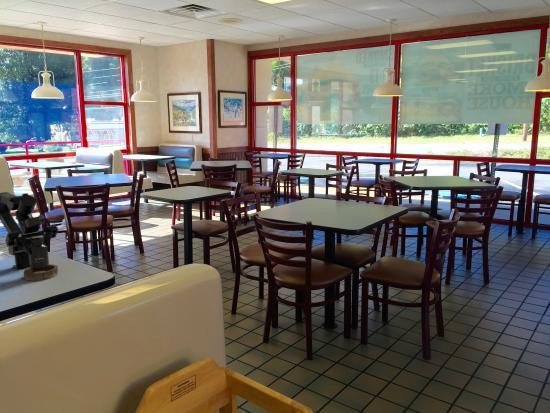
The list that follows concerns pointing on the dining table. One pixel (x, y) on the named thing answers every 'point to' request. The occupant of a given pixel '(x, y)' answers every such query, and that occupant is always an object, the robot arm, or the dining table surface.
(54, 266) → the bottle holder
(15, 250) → the robot arm
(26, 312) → the dining table surface
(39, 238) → the supplement bottle
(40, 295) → the dining table surface
